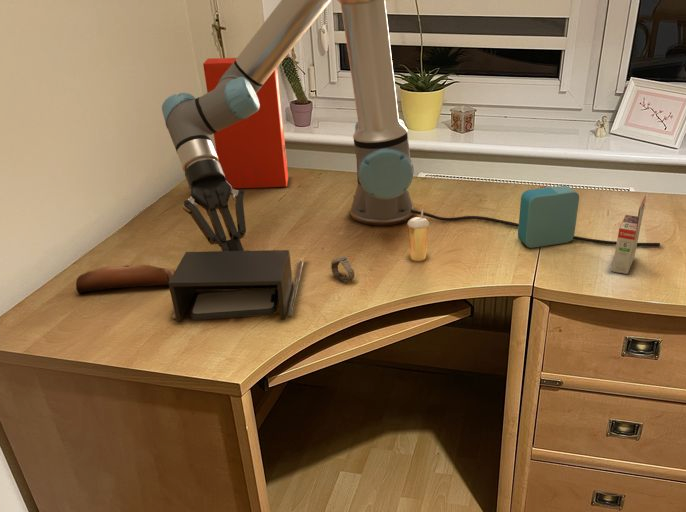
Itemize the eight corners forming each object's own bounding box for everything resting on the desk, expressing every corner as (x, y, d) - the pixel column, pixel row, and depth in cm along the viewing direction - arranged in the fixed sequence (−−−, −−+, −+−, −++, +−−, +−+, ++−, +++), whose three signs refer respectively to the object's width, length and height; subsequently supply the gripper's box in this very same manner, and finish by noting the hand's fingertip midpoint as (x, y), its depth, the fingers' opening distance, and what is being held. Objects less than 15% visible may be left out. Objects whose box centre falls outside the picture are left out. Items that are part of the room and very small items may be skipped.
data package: (564, 234, 163) (570, 184, 156) (573, 242, 159) (580, 191, 153) (516, 241, 160) (521, 190, 153) (525, 249, 156) (530, 197, 150)
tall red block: (226, 179, 197) (208, 57, 180) (288, 177, 198) (276, 56, 181) (222, 189, 190) (202, 64, 173) (286, 187, 191) (273, 62, 174)
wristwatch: (340, 272, 148) (339, 250, 145) (358, 282, 144) (357, 259, 141) (327, 277, 146) (325, 255, 143) (345, 287, 142) (343, 265, 139)
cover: (293, 286, 142) (289, 249, 138) (285, 319, 131) (280, 280, 127) (192, 288, 142) (185, 251, 137) (176, 321, 131) (168, 282, 126)
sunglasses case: (175, 268, 149) (168, 250, 143) (175, 296, 146) (168, 279, 140) (86, 275, 146) (75, 257, 140) (84, 304, 143) (73, 287, 137)
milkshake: (432, 253, 155) (433, 210, 149) (424, 263, 151) (425, 219, 145) (412, 250, 156) (412, 208, 151) (404, 260, 152) (404, 217, 146)
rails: (303, 263, 151) (303, 260, 151) (291, 317, 132) (291, 314, 132) (199, 265, 151) (199, 262, 151) (172, 319, 132) (171, 316, 131)
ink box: (610, 272, 146) (621, 205, 138) (617, 256, 152) (628, 192, 145) (628, 275, 145) (641, 208, 137) (634, 259, 151) (647, 194, 143)
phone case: (190, 322, 131) (276, 316, 132) (188, 315, 130) (275, 309, 131) (197, 300, 139) (279, 294, 140) (196, 292, 138) (278, 287, 139)
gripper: (229, 170, 151) (267, 270, 148) (169, 181, 145) (207, 285, 142) (234, 152, 144) (274, 256, 141) (171, 163, 138) (211, 272, 135)
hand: (240, 271), depth 142 cm, fingers closed
